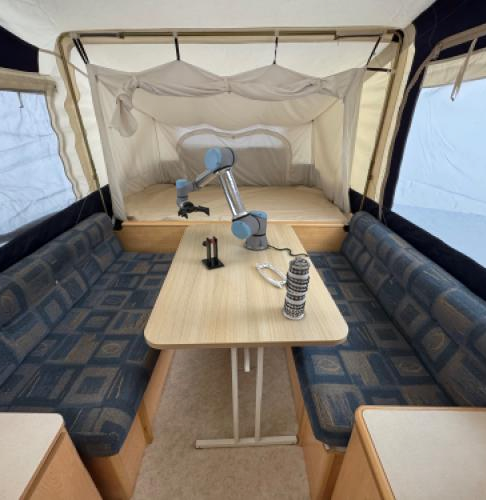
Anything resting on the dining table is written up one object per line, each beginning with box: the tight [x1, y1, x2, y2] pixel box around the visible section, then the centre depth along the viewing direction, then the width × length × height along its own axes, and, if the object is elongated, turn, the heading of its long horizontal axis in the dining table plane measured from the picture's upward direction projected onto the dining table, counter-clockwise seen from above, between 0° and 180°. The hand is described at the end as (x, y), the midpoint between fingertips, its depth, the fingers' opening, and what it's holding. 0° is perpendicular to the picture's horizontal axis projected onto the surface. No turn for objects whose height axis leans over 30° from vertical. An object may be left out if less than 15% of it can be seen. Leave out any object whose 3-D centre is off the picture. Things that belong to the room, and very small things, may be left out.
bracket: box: [201, 235, 225, 271], centre depth 148 cm, size 11×9×16 cm
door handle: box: [255, 261, 287, 289], centre depth 139 cm, size 3×10×25 cm
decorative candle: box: [283, 256, 311, 321], centre depth 106 cm, size 9×9×25 cm
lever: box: [201, 238, 215, 248], centre depth 151 cm, size 15×4×4 cm, turn 27°
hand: (198, 215), depth 158 cm, fingers open, 13 cm apart
